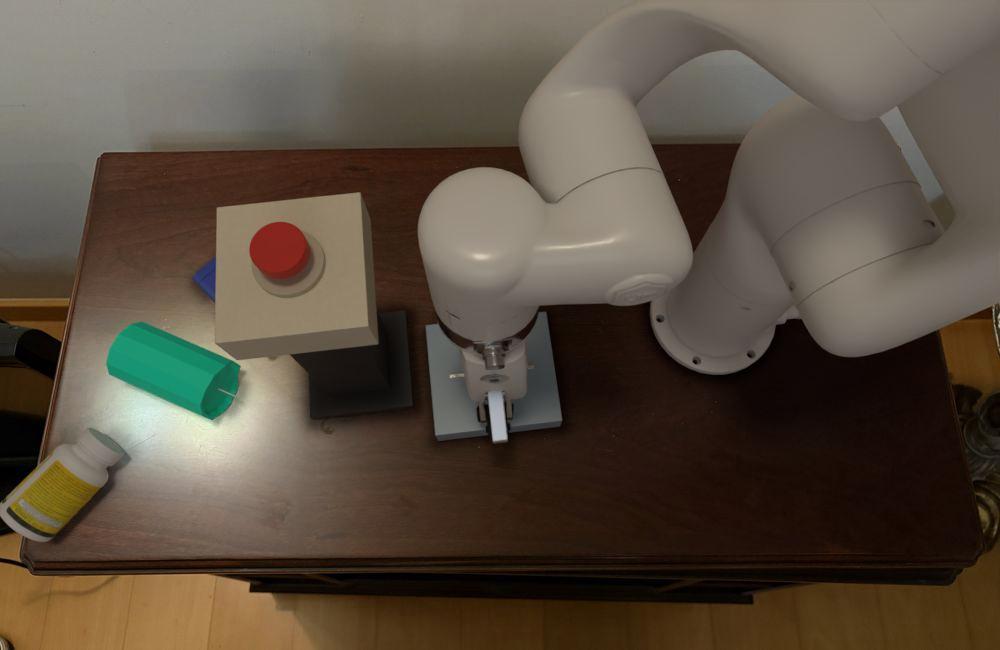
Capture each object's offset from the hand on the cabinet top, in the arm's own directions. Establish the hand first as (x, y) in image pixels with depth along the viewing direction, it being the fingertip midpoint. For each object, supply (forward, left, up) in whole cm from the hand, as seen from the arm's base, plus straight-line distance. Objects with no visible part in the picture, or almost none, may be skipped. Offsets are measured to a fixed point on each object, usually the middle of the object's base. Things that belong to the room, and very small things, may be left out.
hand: (489, 366), depth 66 cm
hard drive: (+22, -12, -5) cm, 26 cm away
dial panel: (0, 0, -5) cm, 5 cm away
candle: (+35, -7, -2) cm, 35 cm away
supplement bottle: (+44, +9, -3) cm, 45 cm away
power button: (+13, -3, +20) cm, 24 cm away
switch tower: (+13, -3, -5) cm, 14 cm away
